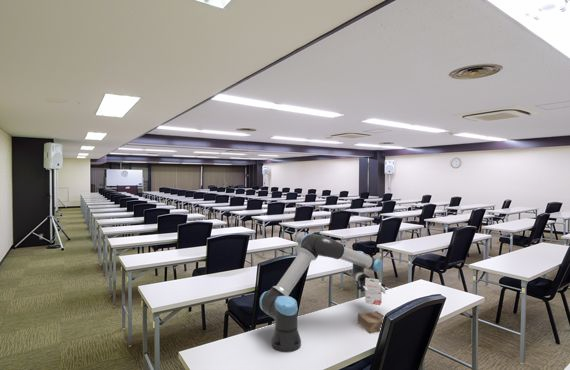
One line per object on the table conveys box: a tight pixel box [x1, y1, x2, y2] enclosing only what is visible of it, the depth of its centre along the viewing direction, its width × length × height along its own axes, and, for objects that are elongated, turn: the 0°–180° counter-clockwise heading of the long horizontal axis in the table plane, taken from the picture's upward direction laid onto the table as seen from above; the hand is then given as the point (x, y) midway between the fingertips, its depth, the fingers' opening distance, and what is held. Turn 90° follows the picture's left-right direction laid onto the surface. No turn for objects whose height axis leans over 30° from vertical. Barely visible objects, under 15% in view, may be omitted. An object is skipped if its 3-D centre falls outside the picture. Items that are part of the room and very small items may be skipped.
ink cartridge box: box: [364, 278, 382, 306], centre depth 186 cm, size 9×5×15 cm, turn 62°
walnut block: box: [357, 310, 384, 334], centre depth 186 cm, size 13×13×6 cm
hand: (376, 291), depth 181 cm, fingers closed on ink cartridge box, 9 cm apart
